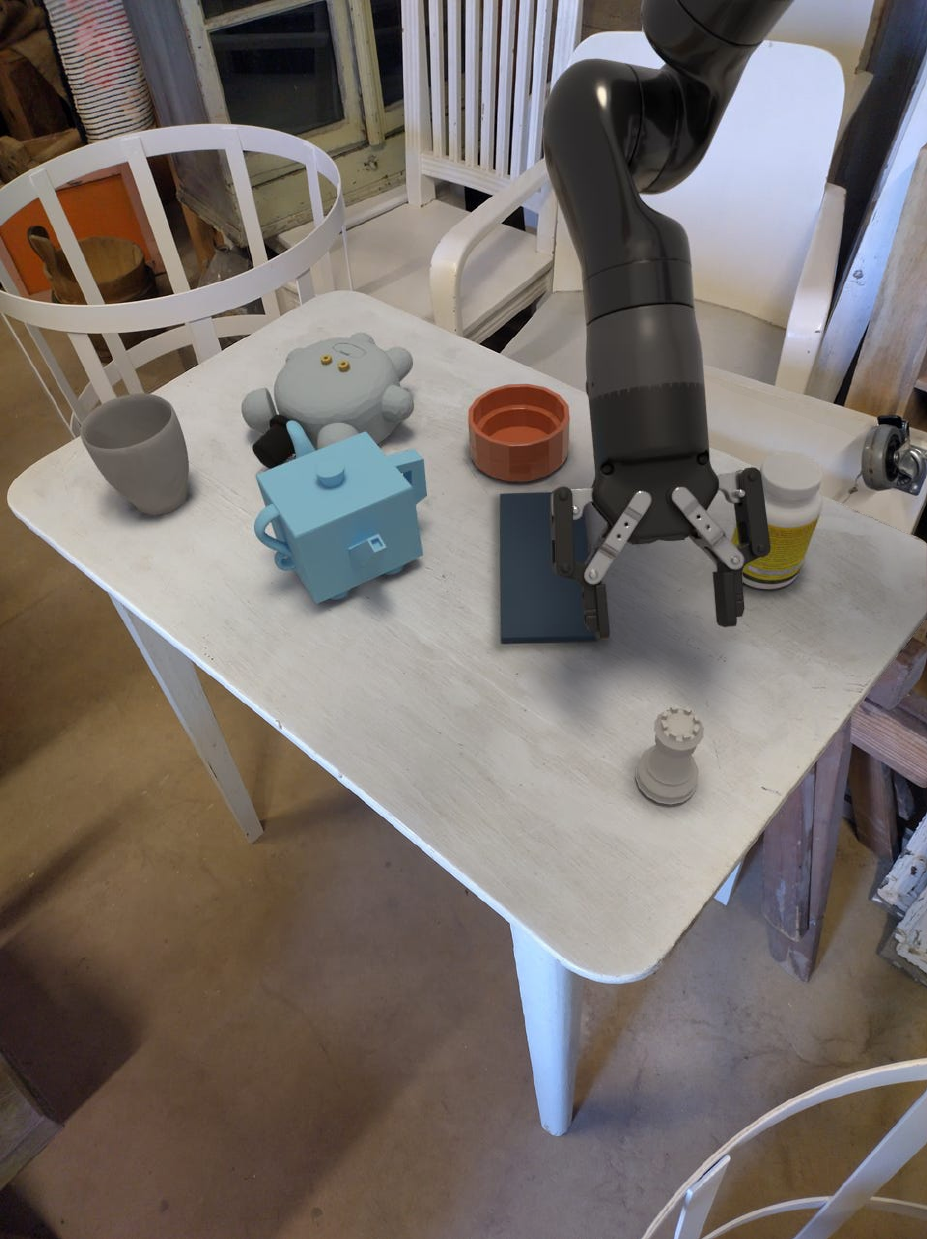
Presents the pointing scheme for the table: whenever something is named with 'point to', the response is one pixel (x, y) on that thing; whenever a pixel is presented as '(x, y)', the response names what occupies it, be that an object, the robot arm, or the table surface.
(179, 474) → the mug
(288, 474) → the teapot
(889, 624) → the table surface
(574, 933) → the table surface
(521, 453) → the bowl
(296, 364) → the figurine
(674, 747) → the rook chess piece
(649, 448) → the robot arm
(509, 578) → the rectangular board
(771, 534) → the pill bottle
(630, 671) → the table surface
